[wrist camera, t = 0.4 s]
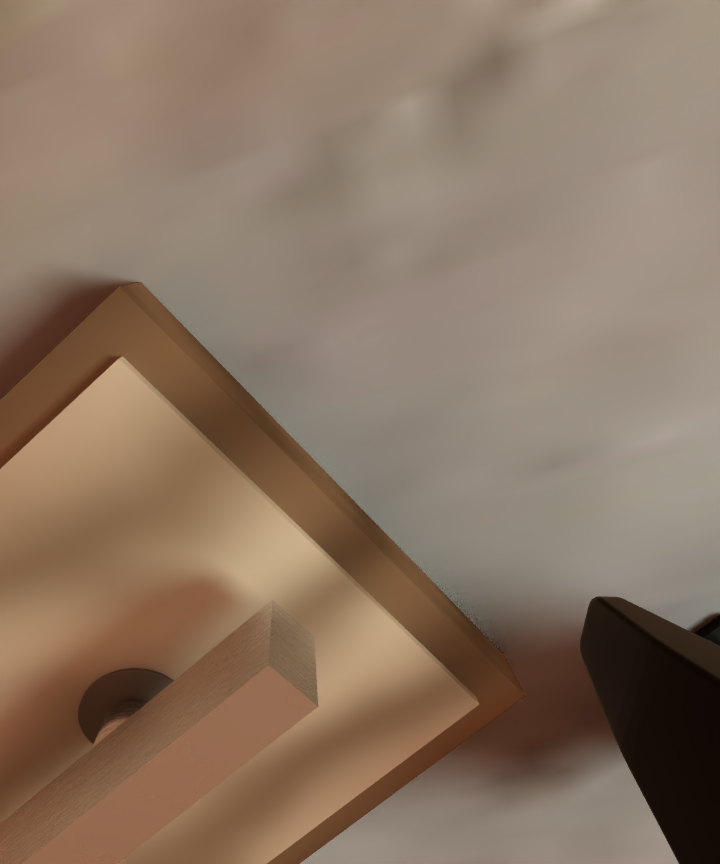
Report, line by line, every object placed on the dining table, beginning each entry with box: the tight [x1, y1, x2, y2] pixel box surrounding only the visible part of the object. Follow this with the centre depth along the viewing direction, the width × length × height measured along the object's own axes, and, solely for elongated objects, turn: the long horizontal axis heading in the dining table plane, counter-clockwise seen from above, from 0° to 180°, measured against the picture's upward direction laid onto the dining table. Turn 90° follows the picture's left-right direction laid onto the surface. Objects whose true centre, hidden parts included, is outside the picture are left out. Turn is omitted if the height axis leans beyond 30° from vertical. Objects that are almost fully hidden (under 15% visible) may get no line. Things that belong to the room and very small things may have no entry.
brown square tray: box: [0, 282, 525, 864], centre depth 22 cm, size 22×22×3 cm
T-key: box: [0, 599, 318, 864], centre depth 18 cm, size 16×2×5 cm, turn 130°
